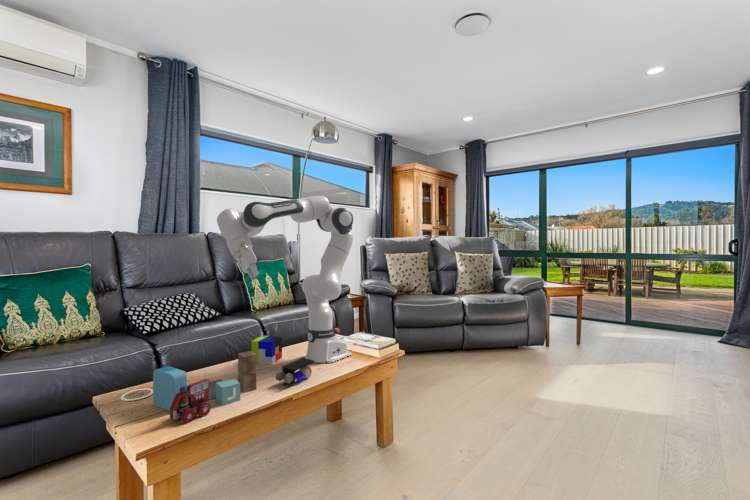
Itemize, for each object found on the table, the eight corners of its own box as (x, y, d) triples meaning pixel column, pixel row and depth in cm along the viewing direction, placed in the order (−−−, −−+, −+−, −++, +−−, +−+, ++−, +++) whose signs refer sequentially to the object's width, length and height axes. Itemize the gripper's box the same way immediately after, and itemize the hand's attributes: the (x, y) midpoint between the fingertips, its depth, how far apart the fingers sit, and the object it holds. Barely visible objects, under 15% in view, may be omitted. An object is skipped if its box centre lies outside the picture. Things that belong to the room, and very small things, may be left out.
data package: (187, 407, 120) (187, 371, 120) (173, 413, 116) (173, 375, 116) (166, 399, 126) (166, 364, 126) (152, 404, 122) (152, 368, 122)
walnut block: (249, 385, 139) (249, 351, 139) (256, 389, 135) (256, 354, 135) (238, 388, 136) (238, 353, 136) (244, 392, 132) (244, 356, 132)
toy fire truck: (164, 422, 110) (164, 387, 110) (202, 406, 121) (202, 375, 121) (176, 428, 107) (176, 392, 107) (215, 412, 117) (215, 379, 117)
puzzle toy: (271, 364, 163) (272, 342, 163) (251, 363, 165) (251, 341, 165) (281, 357, 173) (282, 336, 173) (262, 356, 175) (262, 335, 175)
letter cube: (233, 395, 130) (233, 378, 130) (240, 400, 126) (240, 383, 126) (215, 399, 126) (215, 382, 126) (222, 405, 122) (222, 387, 122)
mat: (220, 380, 144) (220, 379, 144) (237, 392, 132) (237, 391, 132) (193, 386, 137) (193, 385, 137) (208, 400, 126) (208, 399, 126)
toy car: (288, 393, 135) (316, 376, 148) (286, 374, 134) (314, 358, 147) (275, 389, 139) (303, 373, 152) (273, 370, 138) (302, 355, 151)
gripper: (250, 236, 141) (266, 269, 140) (246, 250, 159) (260, 279, 158) (234, 242, 138) (250, 275, 137) (232, 256, 156) (246, 285, 155)
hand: (255, 277), depth 147 cm, fingers open, 8 cm apart
